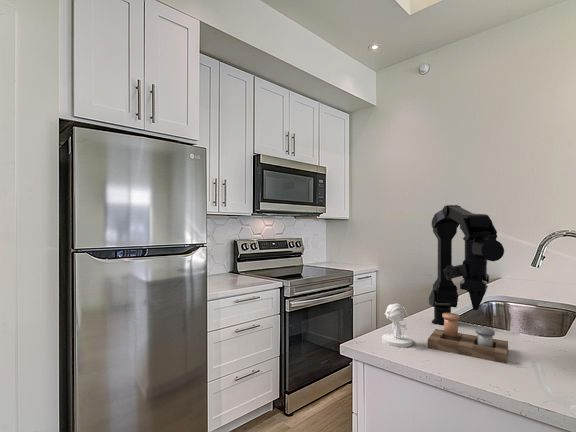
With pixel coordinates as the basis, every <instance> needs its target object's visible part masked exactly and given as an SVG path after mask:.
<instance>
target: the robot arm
mask: <svg viewBox="0 0 576 432" xmlns="http://www.w3.org/2000/svg"><path fill="white" fill-rule="evenodd" d="M458 227H459V229H460V230H461V232H462V233H463V235H464V237H463V238H462V239H463V241H464V260H463V261H462V264H457V265H453V264H452V261H453V259H452V258H453V257H452V253H453V251H452V250H453V248H452V246H453V245H452V241H453V239H454V237H455V236H456V235H457V233H458ZM431 228H432V233H433V234H434V236H435V237H436V238H437V279H436V280H435V281H434V282H433V284H432V290H431V292H430V294H429V297H428V304H429V305H430V306H431V307H433V314H434V315H433V319H432V320H431V324H439V325H443V326H444V318H443V317H442V314H443V313H452V308H457V306H458V301H459V293H458V287H457V286H456V284H455V283H454V281H453V279H456V278H459V277H461V278H462V280H460V282H459V289H460V290H462V291H466V292H468V294H469V298H470V303H471V306H472V310H473V311H478V310H479V308H480V306H481V303H482V301H483V299H484V297H485V294H486V292H487V290H488V288H489V285H487V283H488V284H490V275H489V273H487V272H488V270H487V269H488V267H487V266H488V262H496V261H499V260H501V259H502V257H504V255H505V248H504V246H503V244H502V242H500V241H499V240H497V238H498V231H497V229H496V227H495V226H494V223H493V220H492V219H491V218H490V215H488V214H485V213H473V212H471V211H469V210H467V209H465V208H463V207H462V206H460V205H458V204H452V205H451V204H450V205H449V204H447V205H444V206H443V208H442V209H440V210H439V211H437V212H436V213H435V214H434V215H433V218H432V219H431Z"/></svg>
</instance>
